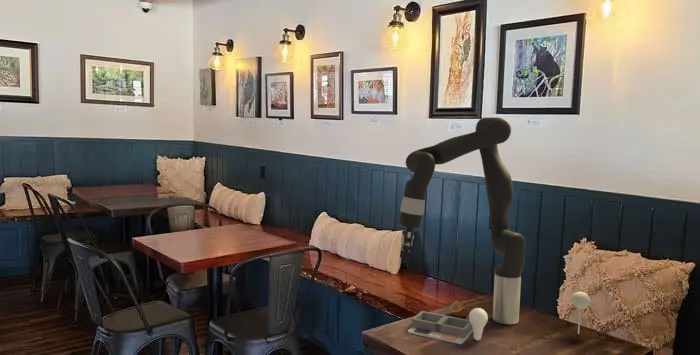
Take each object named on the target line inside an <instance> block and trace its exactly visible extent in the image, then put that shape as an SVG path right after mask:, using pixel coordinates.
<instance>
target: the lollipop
mask: <svg viewBox="0 0 700 355" xmlns="http://www.w3.org/2000/svg"><path fill="white" fill-rule="evenodd" d="M570 300H571V303H572V305H573V306H574V307H575V308H576V309H579V310H578V323H577V325H578V328H577V335H580V328H581V313H582V310H584V309H586V308H588V307H589V305H591V298H590V296H589V295H588V294H587V293H585V292H584V291H576V292H574V293H573V294H572V296H571V298H570Z"/></svg>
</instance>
